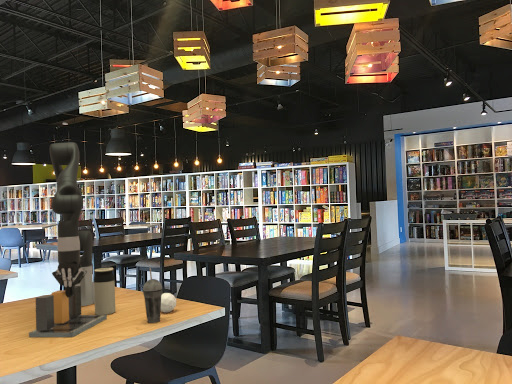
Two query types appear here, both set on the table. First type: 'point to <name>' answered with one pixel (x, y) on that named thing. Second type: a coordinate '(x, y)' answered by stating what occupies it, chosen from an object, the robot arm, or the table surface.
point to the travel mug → (104, 291)
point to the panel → (66, 329)
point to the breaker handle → (61, 307)
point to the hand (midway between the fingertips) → (70, 296)
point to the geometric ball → (167, 302)
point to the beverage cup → (152, 299)
